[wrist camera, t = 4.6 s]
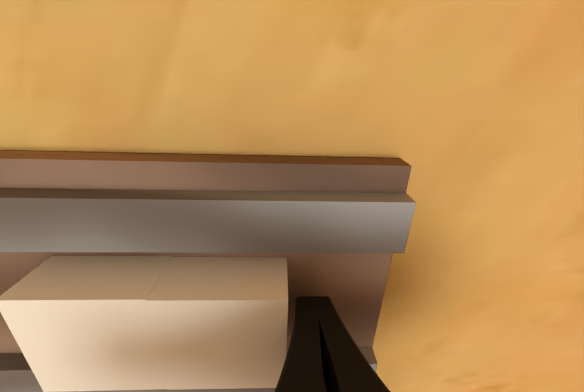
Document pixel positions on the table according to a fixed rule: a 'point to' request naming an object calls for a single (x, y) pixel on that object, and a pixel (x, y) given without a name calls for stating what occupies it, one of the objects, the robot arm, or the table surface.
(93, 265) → the chip
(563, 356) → the table surface
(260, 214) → the slot board
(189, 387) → the chip
